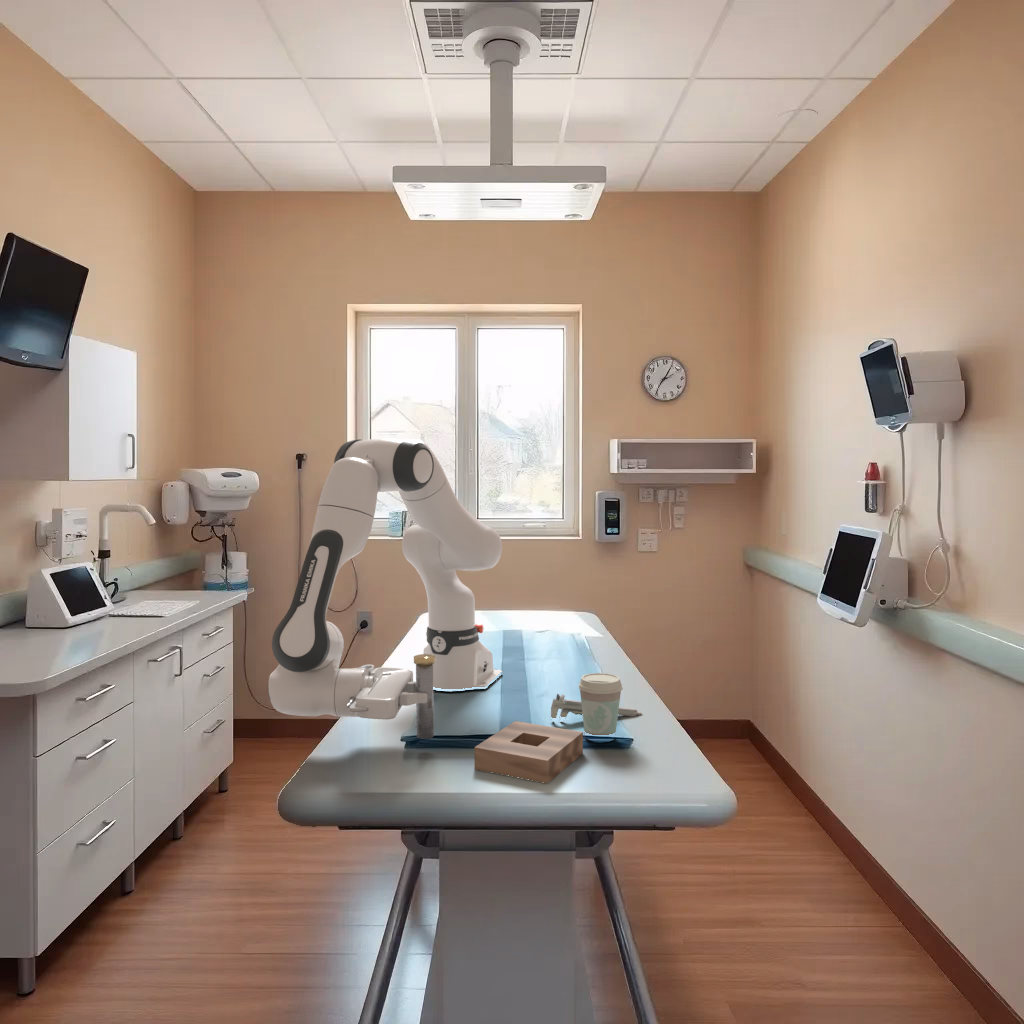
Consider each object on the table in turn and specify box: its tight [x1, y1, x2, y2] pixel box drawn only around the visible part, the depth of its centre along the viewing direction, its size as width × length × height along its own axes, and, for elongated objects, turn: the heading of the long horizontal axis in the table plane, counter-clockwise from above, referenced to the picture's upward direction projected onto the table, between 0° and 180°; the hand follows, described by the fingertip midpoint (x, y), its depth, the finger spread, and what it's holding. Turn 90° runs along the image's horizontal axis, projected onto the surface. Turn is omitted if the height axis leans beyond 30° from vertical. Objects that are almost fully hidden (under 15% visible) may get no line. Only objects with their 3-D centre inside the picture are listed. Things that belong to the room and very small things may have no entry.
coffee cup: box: [577, 672, 624, 735], centre depth 159 cm, size 8×8×12 cm
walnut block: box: [473, 720, 584, 784], centre depth 147 cm, size 16×14×4 cm
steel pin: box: [413, 653, 435, 739], centre depth 152 cm, size 4×4×15 cm
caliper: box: [550, 693, 643, 719], centre depth 171 cm, size 20×1×6 cm, turn 107°
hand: (429, 693), depth 152 cm, fingers closed on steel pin, 3 cm apart
